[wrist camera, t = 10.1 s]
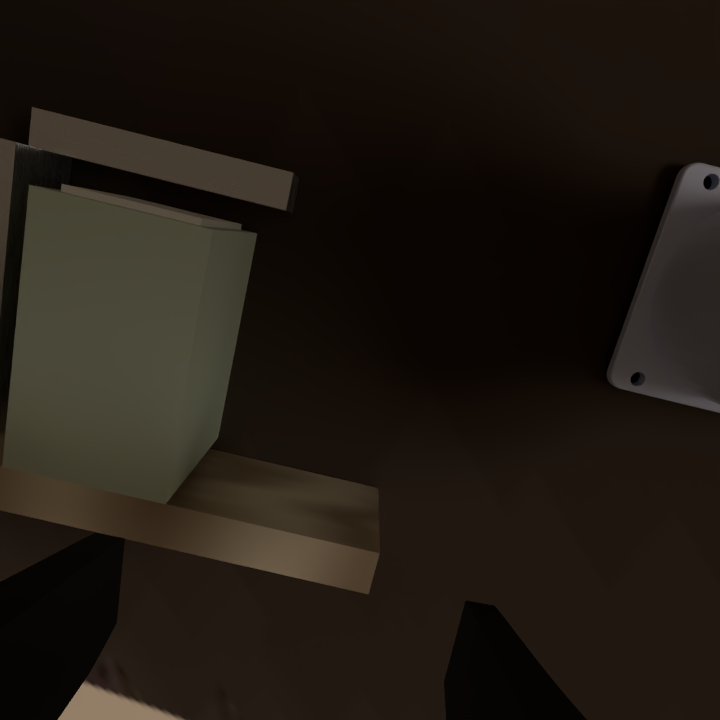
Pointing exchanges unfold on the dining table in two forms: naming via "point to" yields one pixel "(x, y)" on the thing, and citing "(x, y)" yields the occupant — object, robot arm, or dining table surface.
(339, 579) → the base board
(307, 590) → the dining table surface
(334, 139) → the dining table surface
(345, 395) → the dining table surface
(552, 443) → the dining table surface
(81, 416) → the cabinet block
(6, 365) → the grey l-shaped piece
